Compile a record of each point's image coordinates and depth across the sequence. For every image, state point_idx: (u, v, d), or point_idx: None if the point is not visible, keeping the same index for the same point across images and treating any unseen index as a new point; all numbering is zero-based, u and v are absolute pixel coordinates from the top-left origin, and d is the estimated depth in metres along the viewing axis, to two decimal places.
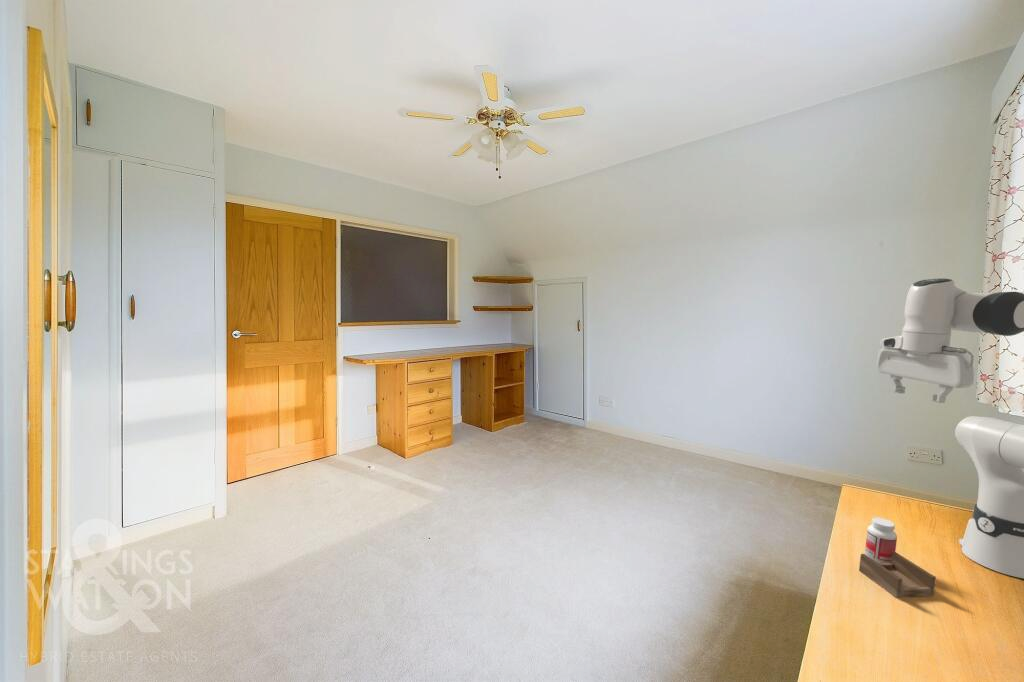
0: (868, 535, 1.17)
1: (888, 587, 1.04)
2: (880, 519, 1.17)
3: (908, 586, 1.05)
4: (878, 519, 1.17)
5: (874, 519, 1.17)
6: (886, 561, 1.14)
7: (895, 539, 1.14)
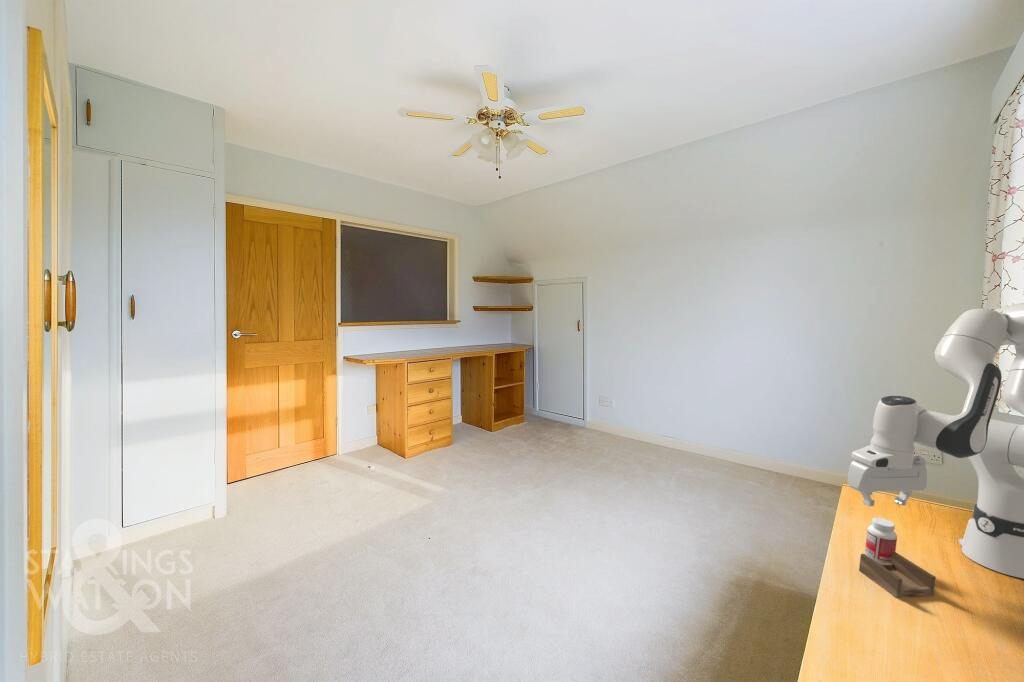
0: (868, 535, 1.17)
1: (888, 587, 1.04)
2: (880, 519, 1.17)
3: (908, 586, 1.05)
4: (878, 519, 1.17)
5: (874, 519, 1.17)
6: (886, 561, 1.14)
7: (895, 539, 1.14)
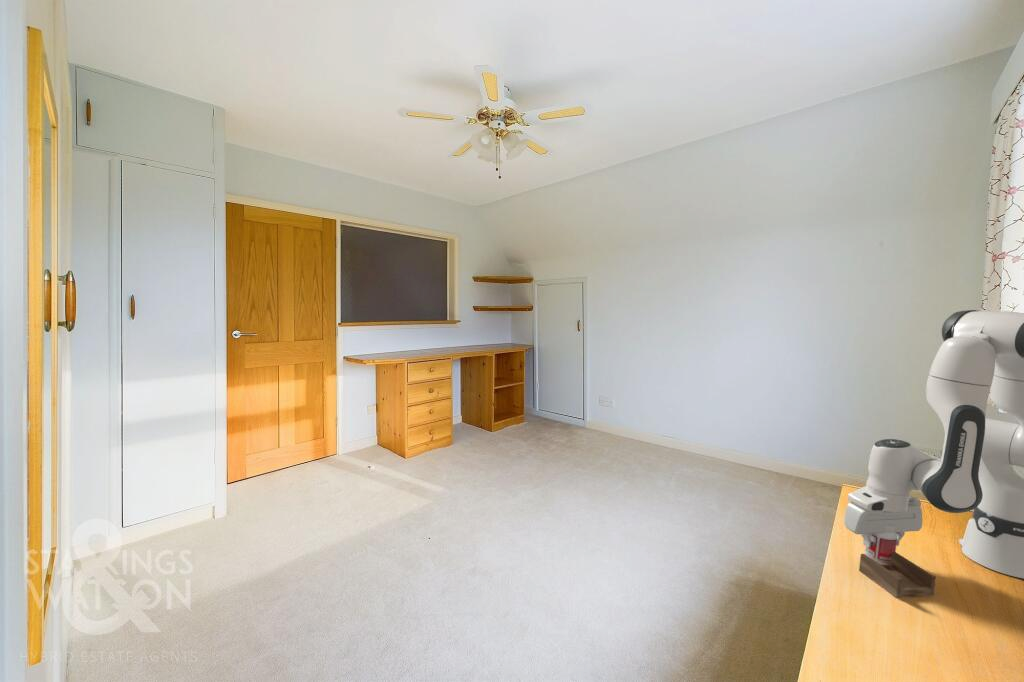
0: None
1: (888, 587, 1.04)
2: None
3: (908, 586, 1.05)
4: None
5: None
6: (886, 561, 1.14)
7: (895, 539, 1.14)
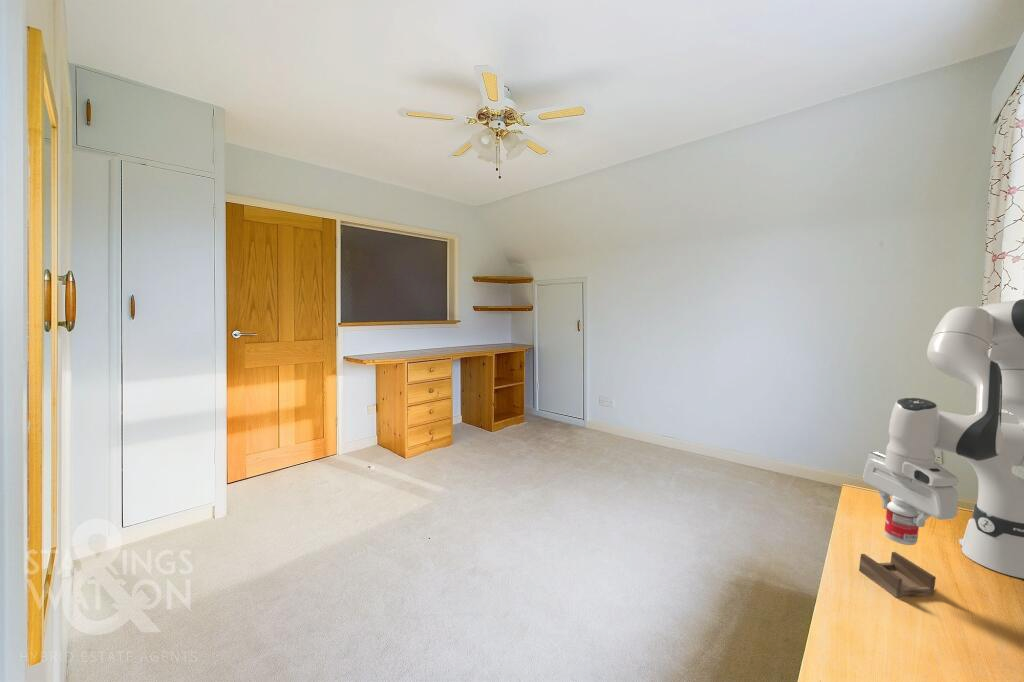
0: (910, 520, 1.03)
1: (888, 587, 1.04)
2: None
3: (908, 586, 1.05)
4: None
5: None
6: None
7: None
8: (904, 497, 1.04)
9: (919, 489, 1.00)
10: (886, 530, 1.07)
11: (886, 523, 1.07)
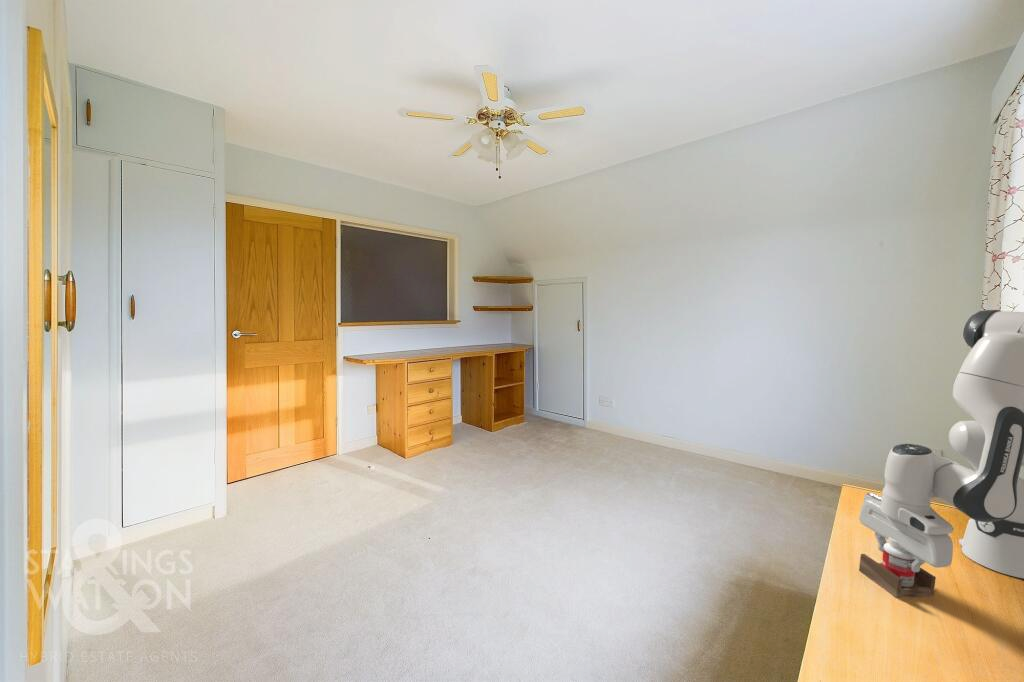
0: (906, 563, 1.04)
1: (888, 587, 1.04)
2: None
3: None
4: None
5: None
6: None
7: None
8: (900, 542, 1.05)
9: (914, 535, 1.01)
10: None
11: (883, 564, 1.08)
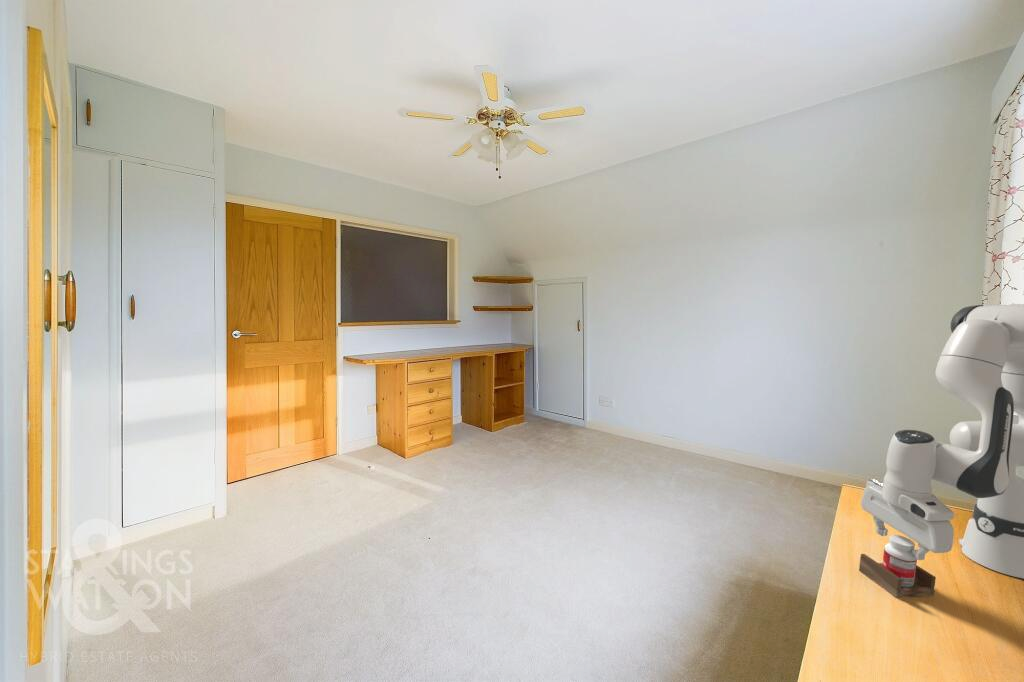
0: (907, 564, 1.04)
1: (888, 587, 1.04)
2: (895, 539, 1.06)
3: None
4: (896, 540, 1.06)
5: (901, 543, 1.05)
6: None
7: None
8: (900, 528, 1.05)
9: (915, 521, 1.01)
10: None
11: (883, 565, 1.08)
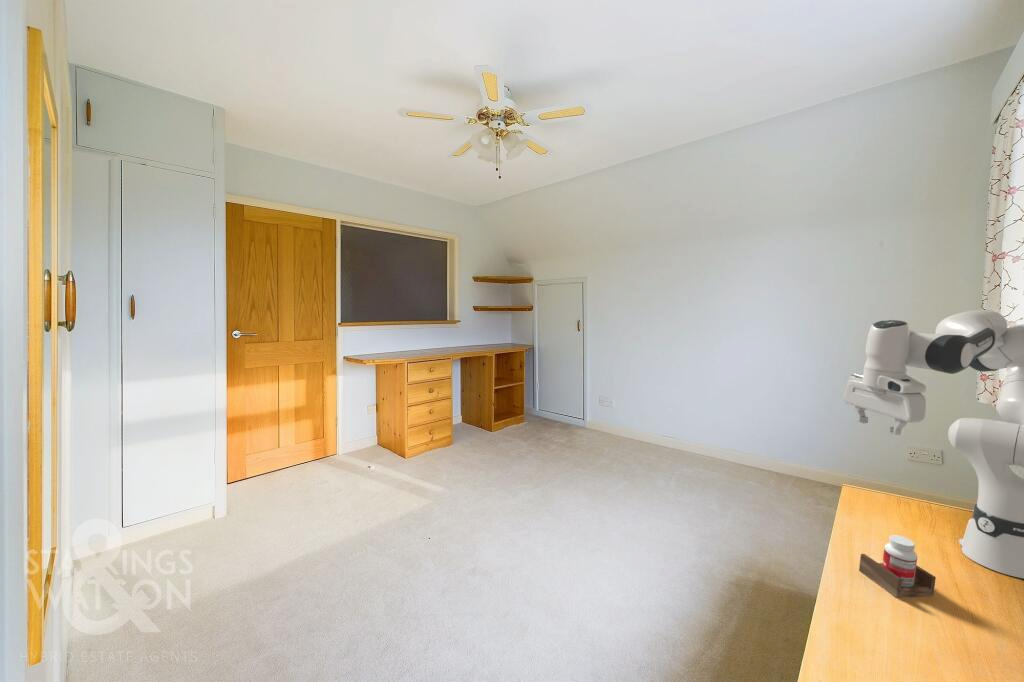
0: (907, 564, 1.04)
1: (888, 587, 1.04)
2: (895, 539, 1.06)
3: None
4: (896, 540, 1.06)
5: (901, 543, 1.05)
6: None
7: None
8: (879, 408, 1.16)
9: (892, 399, 1.12)
10: None
11: (883, 565, 1.08)
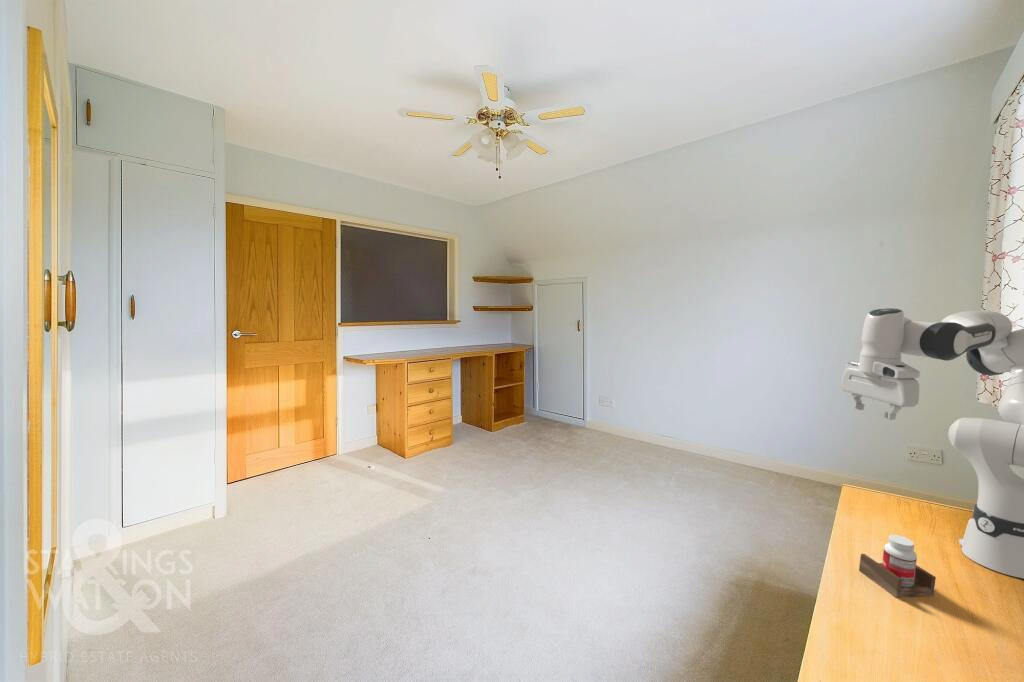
0: (907, 564, 1.04)
1: (888, 587, 1.04)
2: (895, 539, 1.06)
3: None
4: (896, 540, 1.06)
5: (901, 543, 1.05)
6: None
7: None
8: (875, 394, 1.18)
9: (887, 385, 1.15)
10: None
11: (883, 565, 1.08)
